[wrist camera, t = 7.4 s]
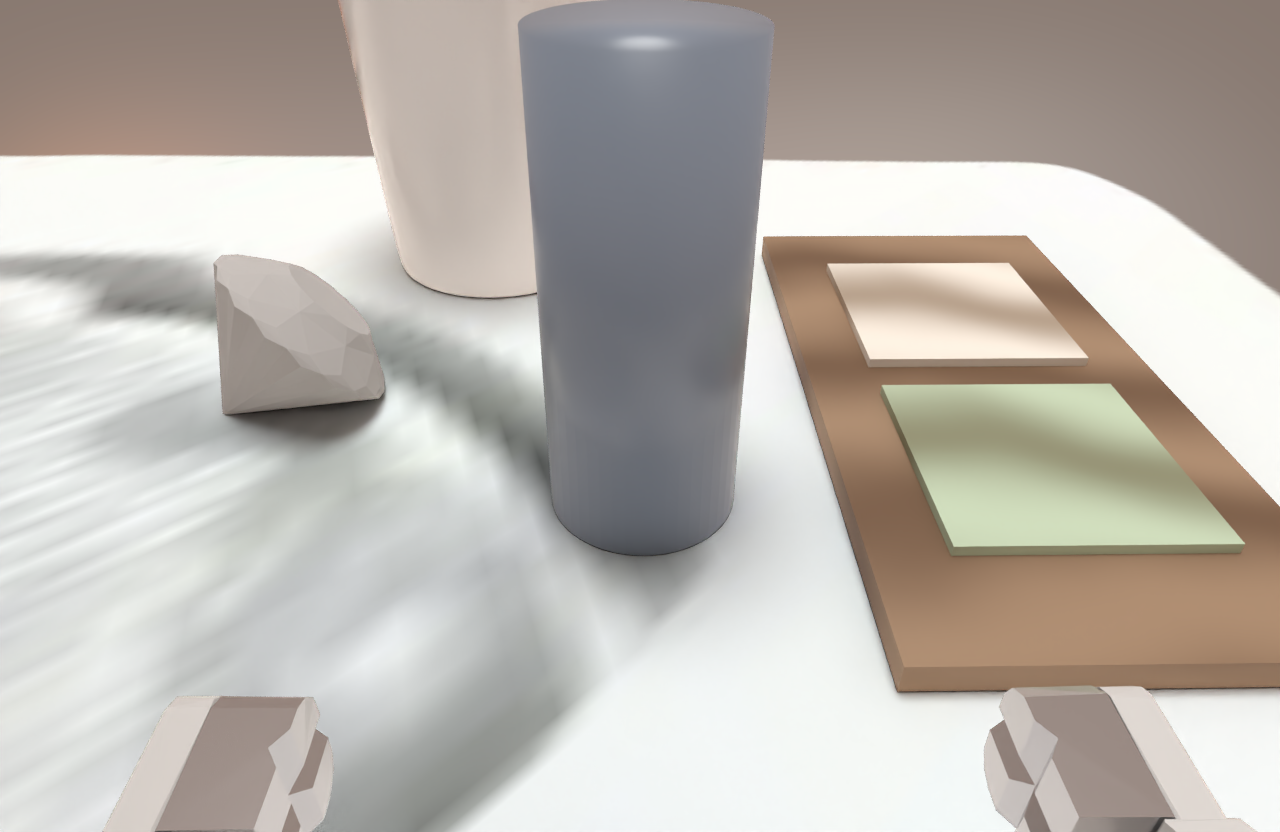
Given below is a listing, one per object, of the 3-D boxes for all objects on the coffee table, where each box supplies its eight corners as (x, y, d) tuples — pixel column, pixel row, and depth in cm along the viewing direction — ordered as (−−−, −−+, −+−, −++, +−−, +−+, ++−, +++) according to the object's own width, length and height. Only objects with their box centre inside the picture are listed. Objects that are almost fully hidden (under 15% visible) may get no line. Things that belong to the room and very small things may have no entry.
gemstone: (110, 316, 26) (219, 196, 26) (274, 394, 31) (368, 295, 31) (151, 442, 23) (278, 306, 22) (329, 509, 28) (436, 398, 27)
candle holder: (344, 244, 37) (278, -75, 30) (539, 194, 42) (520, -92, 35) (450, 335, 31) (396, -43, 24) (665, 264, 36) (673, -68, 29)
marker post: (518, 477, 24) (473, 15, 17) (662, 418, 27) (671, -9, 20) (617, 584, 21) (609, 66, 14) (771, 506, 23) (829, 29, 16)
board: (1404, 685, 19) (1431, 652, 18) (897, 691, 19) (906, 657, 18) (1021, 253, 37) (1028, 228, 36) (762, 254, 36) (764, 229, 36)
